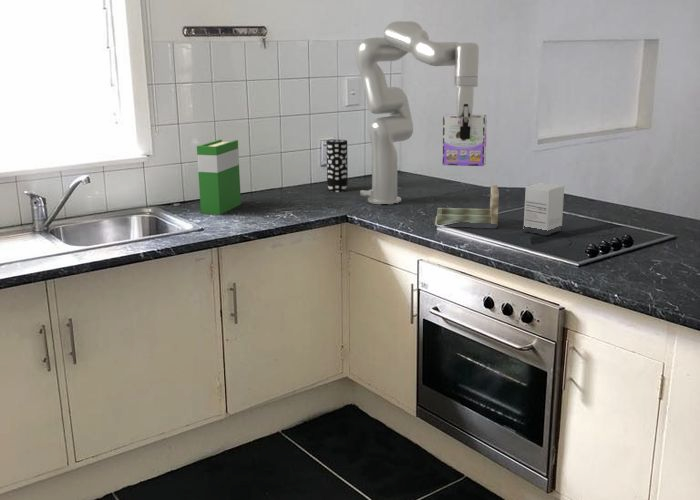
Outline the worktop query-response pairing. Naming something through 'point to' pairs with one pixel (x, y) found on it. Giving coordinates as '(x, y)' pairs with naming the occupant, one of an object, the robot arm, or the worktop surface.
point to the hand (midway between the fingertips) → (464, 137)
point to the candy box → (464, 141)
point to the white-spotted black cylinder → (337, 166)
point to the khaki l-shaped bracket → (471, 212)
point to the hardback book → (218, 176)
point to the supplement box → (543, 206)
